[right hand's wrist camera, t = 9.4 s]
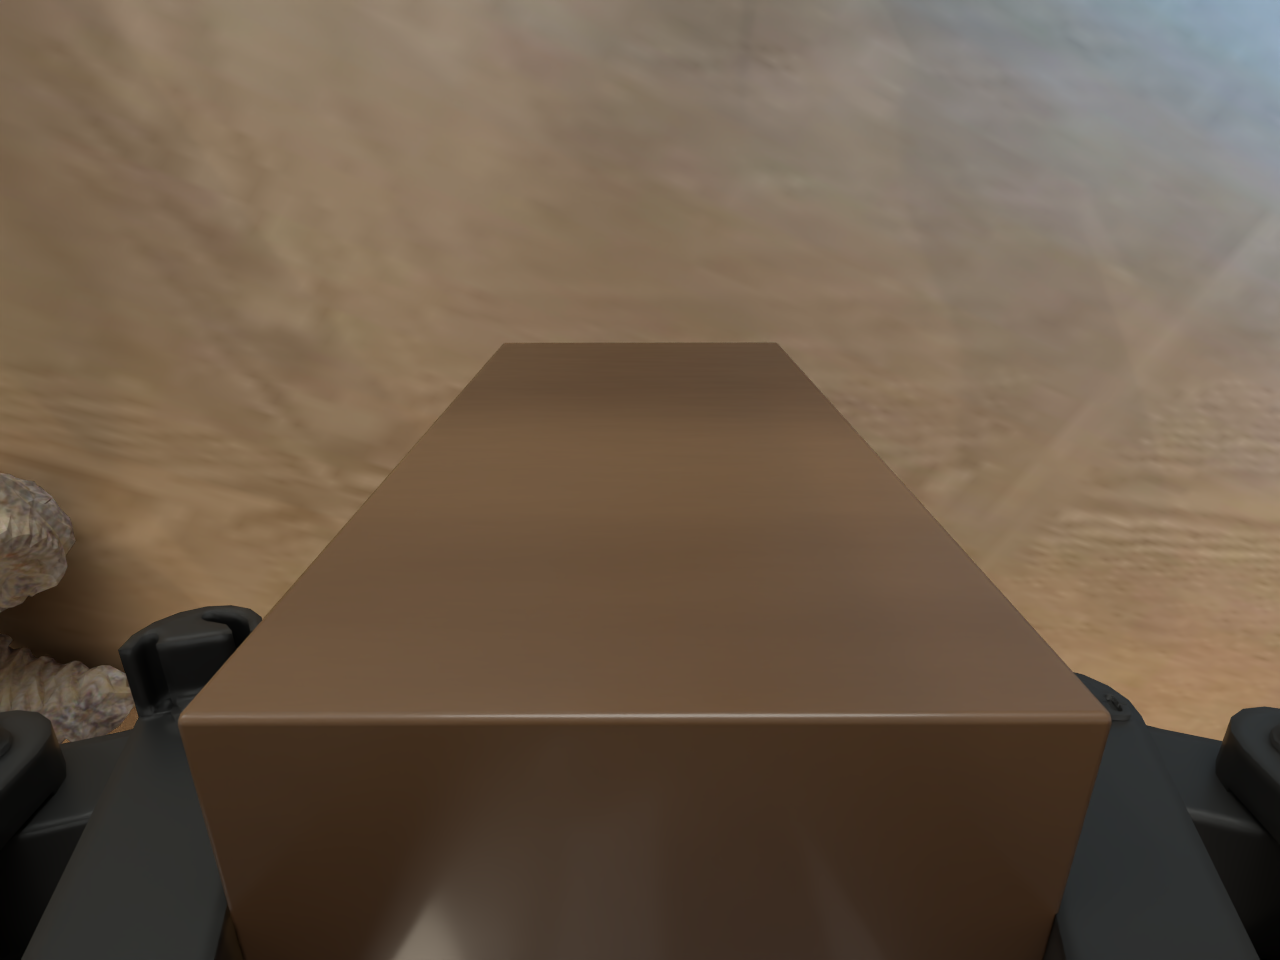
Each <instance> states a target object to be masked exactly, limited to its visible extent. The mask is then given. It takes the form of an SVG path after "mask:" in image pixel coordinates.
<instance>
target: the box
mask: <svg viewBox="0 0 1280 960" xmlns="http://www.w3.org/2000/svg"><path fill="white" fill-rule="evenodd" d="M1111 724H1112V721H1111V716H1110V713H1109V712H1108V711H1107V709H1106V708H1105V707H1104V706H1103V705H1102V704H1101V703H1100V702H1099V701H1098V699H1097V698H1096V697H1095V696H1094V695H1093V694H1092V693H1091V692H1090V691H1089V689H1088V688H1087V687H1086V686H1085V685H1084V684H1083V683H1082V682H1081V680H1080V679H1079V678H1078V677H1077V676H1076V675H1075V674H1074V673H1073V672H1072V670H1071V669H1070V668H1069V667H1068V666H1067V665H1066V664H1065V663H1064V662H1063V660H1062V659H1061V658H1060V657H1059V656H1058V655H1057V654H1056V653H1055V652H1054V650H1053V649H1052V648H1051V647H1050V646H1049V645H1048V644H1047V643H1046V642H1045V640H1044V639H1043V638H1042V637H1041V636H1040V635H1039V634H1038V633H1037V632H1036V630H1035V629H1034V628H1033V627H1032V626H1031V625H1030V624H1029V623H1028V622H1027V620H1026V619H1025V618H1024V617H1023V616H1022V615H1021V614H1020V613H1019V612H1018V610H1017V609H1016V608H1015V607H1014V606H1013V605H1012V604H1011V603H1010V602H1009V600H1008V599H1007V598H1006V597H1005V596H1004V595H1003V594H1002V593H1001V592H1000V590H999V589H998V588H997V587H996V586H995V585H994V584H993V583H992V582H991V580H990V579H989V578H988V577H987V576H986V575H985V574H984V573H983V572H982V570H981V569H980V568H979V567H978V566H977V565H976V564H975V563H974V562H973V560H972V559H971V558H970V557H969V556H968V555H967V554H966V553H965V552H964V550H963V549H962V548H961V547H960V546H959V545H958V544H957V543H956V542H955V540H954V539H953V538H952V537H951V536H950V535H949V534H948V533H947V532H946V530H945V529H944V528H943V527H942V526H941V525H940V524H939V523H938V522H937V520H936V519H935V518H934V517H933V516H932V515H931V514H930V513H929V511H928V510H927V509H926V508H925V507H924V506H923V505H922V504H921V503H920V501H919V500H918V499H917V498H916V497H915V496H914V495H913V494H912V493H911V491H910V490H909V489H908V488H907V487H906V486H905V485H904V484H903V483H902V481H901V480H900V479H899V478H898V477H897V476H896V475H895V474H894V473H893V471H892V470H891V469H890V468H889V467H888V466H887V465H886V464H885V463H884V461H883V460H882V459H881V458H880V457H879V456H878V455H877V454H876V453H875V451H874V450H873V449H872V448H871V447H870V446H869V445H868V444H867V443H866V441H865V440H864V439H863V438H862V437H861V436H860V435H859V434H858V433H857V431H856V430H855V429H854V428H853V427H852V426H851V425H850V424H849V423H848V421H847V420H846V419H845V418H844V417H843V416H842V415H841V414H840V413H839V411H838V410H837V409H836V408H835V407H834V406H833V405H832V404H831V403H830V401H829V400H828V399H827V398H826V397H825V396H824V395H823V394H822V393H821V391H820V390H819V389H818V388H817V387H816V386H815V385H814V384H813V383H812V381H811V380H810V379H809V378H808V377H807V376H806V375H805V374H804V373H803V371H802V370H801V369H800V368H799V367H798V366H797V365H796V364H795V363H794V361H793V360H792V359H791V358H790V357H789V356H788V355H787V354H786V353H785V351H784V350H783V349H782V348H781V347H780V346H779V345H778V344H777V343H504V344H503V345H502V346H501V347H500V348H499V349H498V350H497V352H496V353H495V354H494V355H493V356H492V357H491V358H490V360H489V361H488V362H487V363H486V364H485V365H484V367H483V368H482V369H481V370H480V371H479V372H478V373H477V375H476V376H475V377H474V378H473V379H472V380H471V381H470V383H469V384H468V385H467V386H466V387H465V388H464V389H463V391H462V392H461V393H460V394H459V395H458V396H457V397H456V399H455V400H454V401H453V402H452V403H451V404H450V405H449V407H448V408H447V409H446V410H445V411H444V412H443V413H442V415H441V416H440V417H439V418H438V419H437V420H436V422H435V423H434V424H433V425H432V426H431V427H430V428H429V430H428V431H427V432H426V433H425V434H424V435H423V436H422V438H421V439H420V440H419V441H418V442H417V443H416V444H415V446H414V447H413V448H412V449H411V450H410V451H409V452H408V454H407V455H406V456H405V457H404V458H403V459H402V460H401V462H400V463H399V464H398V465H397V466H396V467H395V468H394V470H393V471H392V472H391V473H390V474H389V475H388V477H387V478H386V479H385V480H384V481H383V482H382V483H381V485H380V486H379V487H378V488H377V489H376V490H375V491H374V493H373V494H372V495H371V496H370V497H369V498H368V499H367V501H366V502H365V503H364V504H363V505H362V506H361V507H360V509H359V510H358V511H357V512H356V513H355V514H354V515H353V517H352V518H351V519H350V520H349V521H348V522H347V523H346V525H345V526H344V527H343V528H342V529H341V530H340V531H339V533H338V534H337V535H336V536H335V537H334V538H333V540H332V541H331V542H330V543H329V544H328V545H327V546H326V548H325V549H324V550H323V551H322V552H321V553H320V554H319V556H318V557H317V558H316V559H315V560H314V561H313V562H312V564H311V565H310V566H309V567H308V568H307V569H306V570H305V572H304V573H303V574H302V575H301V576H300V577H299V578H298V580H297V581H296V582H295V583H294V584H293V585H292V586H291V588H290V589H289V590H288V591H287V592H286V593H285V595H284V596H283V597H282V598H281V599H280V600H279V601H278V603H277V604H276V605H275V606H274V607H273V608H272V609H271V611H270V612H269V613H268V614H267V615H266V616H265V617H264V619H263V620H262V621H261V622H260V623H259V624H258V625H257V627H256V628H255V629H254V630H253V631H252V632H251V633H250V635H249V636H248V637H247V638H246V639H245V640H244V641H243V643H242V644H241V645H240V646H239V647H238V648H237V650H236V651H235V652H234V653H233V654H232V655H231V656H230V658H229V659H228V660H227V661H226V662H225V663H224V664H223V666H222V667H221V668H220V669H219V670H218V671H217V672H216V674H215V675H214V676H213V677H212V678H211V679H210V680H209V682H208V683H207V684H206V685H205V686H204V687H203V688H202V690H201V691H200V692H199V693H198V694H197V695H196V696H195V698H194V699H193V700H192V701H191V702H190V703H189V705H188V706H187V707H186V708H185V709H184V710H183V711H182V713H181V714H180V716H179V719H178V728H179V732H180V735H181V739H182V742H183V746H184V749H185V753H186V757H187V760H188V764H189V767H190V771H191V775H192V778H193V782H194V785H195V789H196V792H197V796H198V800H199V803H200V807H201V810H202V814H203V818H204V821H205V825H206V828H207V832H208V835H209V839H210V843H211V846H212V850H213V853H214V857H215V861H216V864H217V868H218V871H219V875H220V879H221V882H222V886H223V889H224V893H225V896H226V900H227V904H228V907H229V911H230V914H231V918H232V922H233V925H234V929H235V932H236V936H237V939H238V943H239V947H240V950H241V954H242V957H243V960H1043V957H1044V954H1045V950H1046V947H1047V943H1048V940H1049V936H1050V933H1051V929H1052V926H1053V922H1054V919H1055V915H1056V914H1057V913H1058V912H1059V908H1060V905H1061V901H1062V898H1063V894H1064V891H1065V887H1066V883H1067V880H1068V876H1069V873H1070V869H1071V866H1072V862H1073V859H1074V855H1075V852H1076V848H1077V845H1078V841H1079V838H1080V834H1081V830H1082V827H1083V823H1084V820H1085V816H1086V813H1087V809H1088V806H1089V802H1090V799H1091V795H1092V792H1093V788H1094V785H1095V781H1096V777H1097V774H1098V770H1099V767H1100V763H1101V760H1102V756H1103V753H1104V749H1105V746H1106V742H1107V739H1108V735H1109V732H1110V728H1111Z"/></svg>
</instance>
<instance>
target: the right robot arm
mask: <svg viewBox="0 0 1280 960" xmlns="http://www.w3.org/2000/svg"><path fill="white" fill-rule="evenodd" d="M261 621H262V617H261V616H259V615H258V614H257V613H255V612H254V611H252V610H251V609H248V608H243V607H237V606H232V605H229V606H208V607H203V608H198V609H193V610H189V611H184V612H180V613H177V614H175V615H172V616H169V617H167V618H164V619H162V620H159V621H156V622H154V623H152V624H150V625H149V626H147V627H145V628H144V629H142V630H140V631H139V632H137V633H135V634H134V635H132V636H131V637H130V638H129V639H128V640H127V641H126V642H125V643H124V644H123V646H122V647H121V648H120V649H119V650H118V651H119V654H120V657H121V661H122V664H123V667H124V671H125V674H126V677H127V680H128V684H129V687H130V690H131V693H132V697H133V700H134V703H135V706H136V710H137V713H138V716H139V718H138V720H137V722H136V724H135V726H134V728H133V729H131V730H127V731H123V732H118V733H113V734H108V735H103V736H98V737H93V738H89V739H84V740H79V741H74V742H69V743H64V744H59V743H58V740H57V737H56V734H55V731H54V729H53V726H52V723H51V721H50V720H49V719H48V718H46V717H45V716H43V715H42V714H40V713H39V712H32V711H22V710H13V711H6V712H0V960H243V957H242V954H241V950H240V947H239V943H238V939H237V936H236V932H235V929H234V925H233V922H232V918H231V914H230V911H229V907H228V904H227V900H226V896H225V893H224V889H223V886H222V882H221V879H220V875H219V871H218V868H217V864H216V861H215V857H214V853H213V850H212V846H211V843H210V839H209V835H208V832H207V828H206V825H205V821H204V818H203V814H202V810H201V807H200V803H199V800H198V796H197V792H196V789H195V785H194V782H193V778H192V775H191V771H190V767H189V764H188V760H187V757H186V753H185V749H184V746H183V742H182V739H181V735H180V732H179V728H178V719H179V716H180V714H181V713H182V711H183V710H184V709H185V708H186V707H187V706H188V705H189V703H190V702H191V701H192V700H193V699H194V698H195V696H196V695H197V694H198V693H199V692H200V691H201V690H202V688H203V687H204V686H205V685H206V684H207V683H208V682H209V680H210V679H211V678H212V677H213V676H214V675H215V674H216V672H217V671H218V670H219V669H220V668H221V667H222V666H223V664H224V663H225V662H226V661H227V660H228V659H229V658H230V656H231V655H232V654H233V653H234V652H235V651H236V650H237V648H238V647H239V646H240V645H241V644H242V643H243V641H244V640H245V639H246V638H247V637H248V636H249V635H250V633H251V632H252V631H253V630H254V629H255V628H256V627H257V625H258V624H259V623H260V622H261ZM1073 673H1074V672H1073ZM1074 674H1075V675H1076V676H1077V677H1078V678H1079V679H1080V680H1081V682H1082V683H1083V684H1084V685H1085V686H1086V687H1087V688H1088V689H1089V691H1090V692H1091V693H1092V694H1093V695H1094V696H1095V697H1096V698H1097V699H1098V701H1099V702H1100V703H1101V704H1102V705H1103V706H1104V707H1105V708H1106V709H1107V711H1108V712H1109V713H1110V716H1111V721H1112V724H1111V728H1110V732H1109V735H1108V739H1107V742H1106V746H1105V749H1104V753H1103V756H1102V760H1101V763H1100V767H1099V770H1098V774H1097V777H1096V781H1095V785H1094V788H1093V792H1092V795H1091V799H1090V802H1089V806H1088V809H1087V813H1086V816H1085V820H1084V823H1083V827H1082V830H1081V834H1080V838H1079V841H1078V845H1077V848H1076V852H1075V855H1074V859H1073V862H1072V866H1071V869H1070V873H1069V876H1068V880H1067V883H1066V887H1065V891H1064V894H1063V898H1062V901H1061V905H1060V908H1059V912H1058V913H1057V914H1056V915H1055V919H1054V922H1053V926H1052V929H1051V933H1050V936H1049V940H1048V943H1047V947H1046V950H1045V954H1044V957H1043V960H1280V709H1278V708H1271V707H1257V708H1247V709H1242V710H1241V711H1240V712H1238V713H1237V714H1235V715H1234V716H1232V717H1231V719H1230V722H1229V725H1228V728H1227V731H1226V733H1225V736H1224V739H1223V741H1219V740H1214V739H1209V738H1204V737H1199V736H1194V735H1189V734H1184V733H1179V732H1174V731H1169V730H1164V729H1159V728H1155V727H1151V726H1147V725H1146V724H1145V722H1144V720H1143V718H1142V716H1141V715H1140V714H1139V712H1138V711H1137V710H1136V709H1135V707H1134V706H1133V705H1132V704H1131V702H1130V701H1129V700H1128V699H1126V698H1125V697H1123V696H1122V695H1121V694H1119V693H1118V692H1116V691H1115V690H1114V689H1112V688H1111V687H1109V686H1108V685H1105V684H1103V683H1101V682H1099V681H1096V680H1094V679H1092V678H1090V677H1087V676H1085V675H1082V674H1078V673H1074Z"/></svg>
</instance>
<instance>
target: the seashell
mask: <svg viewBox="0 0 1280 960" xmlns="http://www.w3.org/2000/svg"><path fill="white" fill-rule="evenodd" d="M75 542H76V540H75V536H74V533H73V526H72V523H71V520H70V518H69V517H68V516H67V515H66V514H65V513H64V512H63V511H62V510H61V508H60V507H59V506H58V504H57V503H56V501H55V500H54V499H53V497H52V496H51V495H50V494H48V493H47V492H46V491H45V490H44V489H42V488H41V487H40V486H37V485H36V483H35V482H34V481H27V480H23V479H18V478H16V477H14V476H12V475H11V474H5V473H0V612H2V611H4V610H6V609H8V608H11V607H15V606H17V605H19V604H21V603H23V602H24V601H25V599H26V598H27V597H28V596H34V595H35V594H37V593H39V592H41V591H44V590H47V589H50V588H52V587H55V586H57V585H58V583H59V582H60V581H61V579H62V578H63V576H64V574H65V572H66V569H67V567H68V566H67V561H66V555H67V553H68V552H69V550H70V549H71V547H72V546H73V544H74V543H75ZM11 642H12V638H11V637H10V636H9V635H5V634H0V712H6V711H13V710H22V711H32V712H39V713H40V714H42V715H43V716H45V717H46V718H48V719H49V720H50V721H51V723H52V726H53V729H54V731H55V734H56V737H57V740H58V743H59V744H62V742H63V741H64V740H65V739H68V740H69V741H70V742H74V741H79V740H84V739H89V738H93V737H98V736H103V735H106V734H108V733H109V732H111V731H112V730H114V729H115V728H117V727H119V726H120V725H121V723H122V722H123V720H124V719H125V718H126V717H127V715H128V714H129V713H130V711H131V709H132V708H133V707H134V706H135V703H134V700H133V697H132V693H131V690H130V687H129V684H128V680H127V677H126V674H125V673H124V672H122V671H120V670H118V669H116V668H114V667H112V666H110V665H100V666H97V667H94V668H91V669H90V668H88V667H87V666H86V665H84V664H83V663H82V662H80V661H72V662H69V663H67V664H59V663H57V662H56V661H55V660H54V659H53V658H51V657H50V656H41V657H39V658H36V657H35V656H33V655H32V653H31V650H30V649H28V648H27V647H24V648H18V649H12V648H11V647H9V645H10V643H11Z"/></svg>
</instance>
